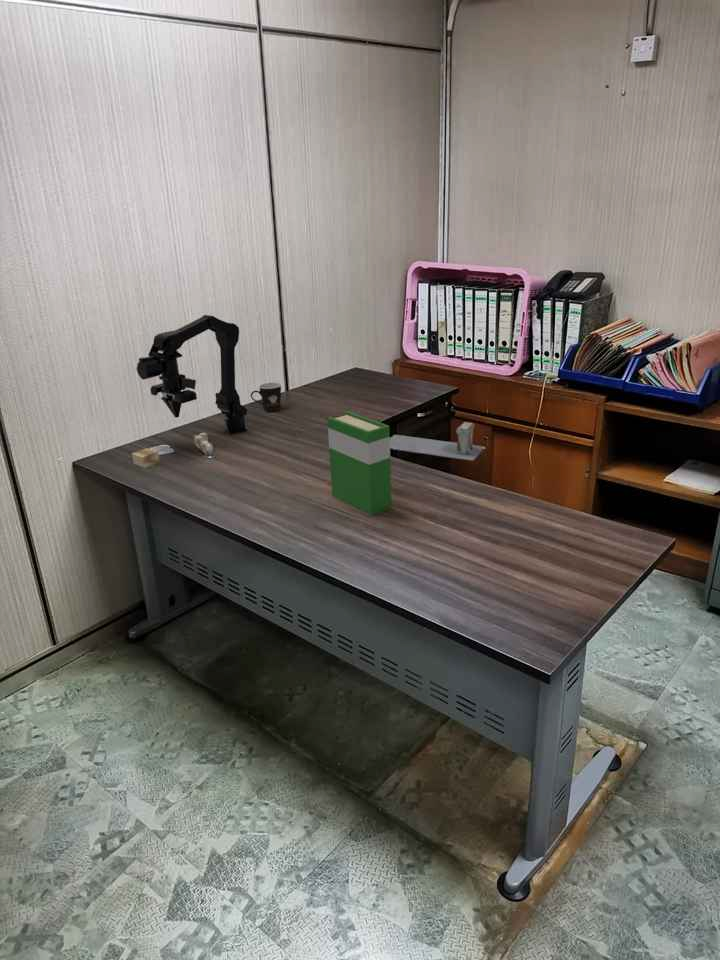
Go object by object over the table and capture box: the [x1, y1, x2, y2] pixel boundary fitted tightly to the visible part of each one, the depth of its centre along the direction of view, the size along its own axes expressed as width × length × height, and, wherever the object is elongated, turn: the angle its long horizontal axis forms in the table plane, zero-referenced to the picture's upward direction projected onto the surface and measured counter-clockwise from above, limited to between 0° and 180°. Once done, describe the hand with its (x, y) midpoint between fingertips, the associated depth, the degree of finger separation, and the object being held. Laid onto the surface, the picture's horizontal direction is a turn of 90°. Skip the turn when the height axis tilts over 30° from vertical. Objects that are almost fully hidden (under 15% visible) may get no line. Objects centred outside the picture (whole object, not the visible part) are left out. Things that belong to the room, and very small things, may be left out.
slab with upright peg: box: [390, 421, 486, 462], centre depth 233 cm, size 12×33×10 cm, turn 63°
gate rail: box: [193, 434, 210, 455], centre depth 240 cm, size 11×2×4 cm, turn 31°
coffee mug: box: [250, 382, 282, 413], centre depth 277 cm, size 12×9×10 cm
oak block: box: [131, 447, 161, 469], centre depth 232 cm, size 6×6×4 cm
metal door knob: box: [202, 442, 217, 459], centre depth 235 cm, size 4×4×4 cm
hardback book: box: [326, 411, 392, 516], centre depth 194 cm, size 18×7×24 cm, turn 39°
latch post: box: [198, 432, 209, 442], centre depth 245 cm, size 2×2×4 cm
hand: (176, 417), depth 237 cm, fingers closed
